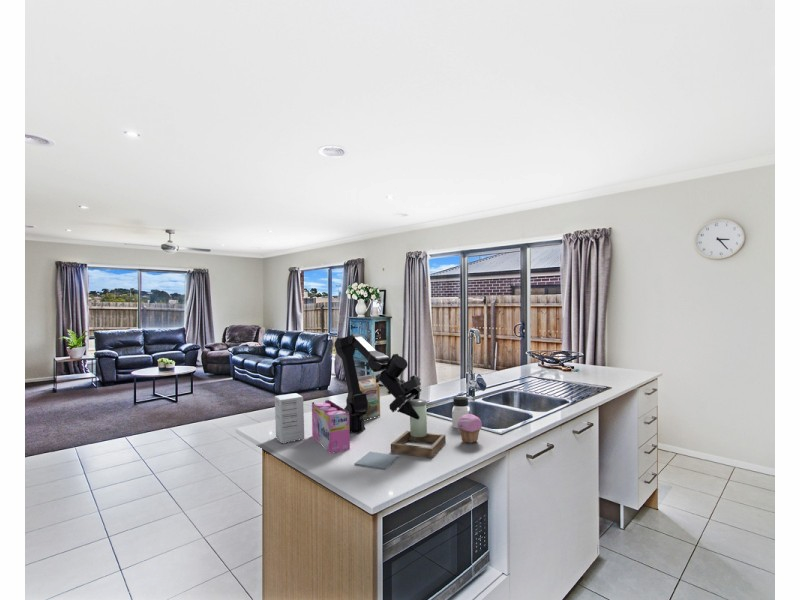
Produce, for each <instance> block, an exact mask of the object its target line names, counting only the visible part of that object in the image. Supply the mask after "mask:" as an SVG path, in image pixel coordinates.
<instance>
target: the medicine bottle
mask: <svg viewBox="0 0 800 600" xmlns="http://www.w3.org/2000/svg"><path fill="white" fill-rule="evenodd" d="M470 409H471V408H470V406H469V398H468V397H466V396H463V395H462V396H460V395H459V396H455V397H453V407H452V410H451V419H452V420H451V422H452V424H451V426H452V428H453V429H456V428H457V429H460V428H459V427H458V421H459V419H460V418H461V417H462V416H463V415H466V414H471V410H470Z"/></svg>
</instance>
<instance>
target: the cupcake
mask: <svg viewBox="0 0 800 600" xmlns="http://www.w3.org/2000/svg"><path fill="white" fill-rule="evenodd" d="M458 427H459V428H458V429H459V430H460V436H461V441H462V443H463V442H464V443H466V442H469V443H468V444H473V443H474V442H477V441H478V439H479V434H480V431H481V429H482V427H483V424H482V420H481V419H480V417H478V416H477V415H475V414H472V413H470V414H466V415H463V416H462V417H461V418H460V419H459V421H458Z"/></svg>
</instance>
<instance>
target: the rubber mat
mask: <svg viewBox="0 0 800 600" xmlns="http://www.w3.org/2000/svg"><path fill="white" fill-rule="evenodd" d="M399 457H400V454H399V455H398V454H390V453H383V452H377V451H376V452H375V451H368V452H367V453H366V454H365V455H364V456H362V457H361V458H360V459H358V460H357V461H356V462H354V463H353V464H354V466H358V467H366V468H373V469H380V470H386V469H387V468H389V466H390V465H392V464H393V463H394V462H395V461H396V460H398V458H399Z"/></svg>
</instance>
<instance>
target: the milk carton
mask: <svg viewBox="0 0 800 600" xmlns="http://www.w3.org/2000/svg"><path fill="white" fill-rule="evenodd" d="M357 377H358V382H359V386H360V390H361V391H362V393H366V396H367V401H368V408H367V413H366V415H363V419H364V420H367V419H370V418H374V417H378V416H380V417H381V402H380V401H381V400H380V399H381V398H380V397H381V395H380V394H381V391H380V390H381V389H380V385H379V382H378V383H376V379H375V378H374V377H373V374H367V375H362V376H357ZM378 418H379V417H378ZM374 419H375V418H374ZM370 420H371V419H370ZM367 421H368V420H367Z"/></svg>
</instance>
